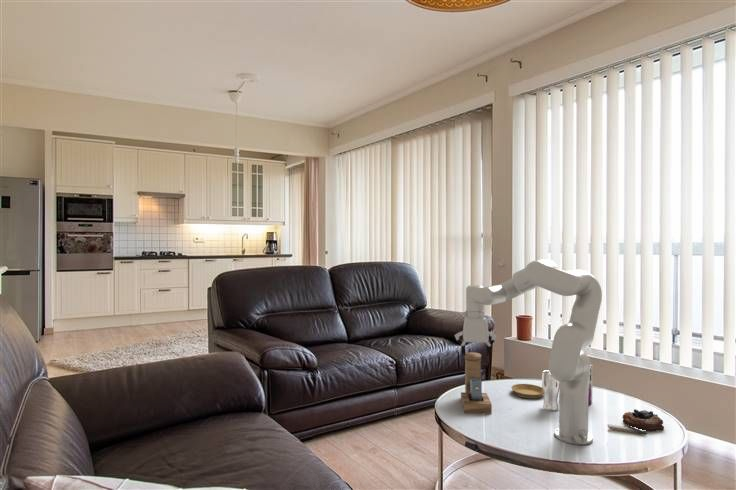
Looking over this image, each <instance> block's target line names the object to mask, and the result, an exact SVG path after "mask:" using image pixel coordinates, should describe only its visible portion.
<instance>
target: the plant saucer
mask: <svg viewBox="0 0 736 490" xmlns="http://www.w3.org/2000/svg"><path fill="white" fill-rule="evenodd" d="M511 389H512V391H513V392H514V394H515V395H517V396H518V397H521V398H525V399H538V398H541V397H543V396H544V395H543V389H542V386H540V385H536V384H530V383H518V384H517V383H516V384H513V385H512V386H511Z"/></svg>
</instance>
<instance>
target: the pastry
mask: <svg viewBox="0 0 736 490" xmlns="http://www.w3.org/2000/svg"><path fill="white" fill-rule="evenodd" d="M622 422H623V424H624V425H626V424H627V425H626V426H628V425H629V426H628V427H630V426H632V427H636V428H638V429H642V430H646V431H650V432H657V431H656V430H659V431H664V429H665V426H664V420H663V419H661V418H660V417H659V416H658V414H655V413H654V411H652V410H651V411H650V410H649V411H648V410H645V409H643V410H638V409H633V411H632V412H630V411H628V412H625V413H624V414H622Z"/></svg>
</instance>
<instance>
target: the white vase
mask: <svg viewBox="0 0 736 490" xmlns="http://www.w3.org/2000/svg"><path fill="white" fill-rule="evenodd" d="M559 385H560V381H558V380H556V379H555V378H553V376H552V375H551V373H550V371H549V369H547V370H543V371H542V374H541V387H542V389H543V395H542V396H543V403H542V408H543V409H544V410H546V411H551V412H555V411H558V410H559V402H558V399H559Z"/></svg>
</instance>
